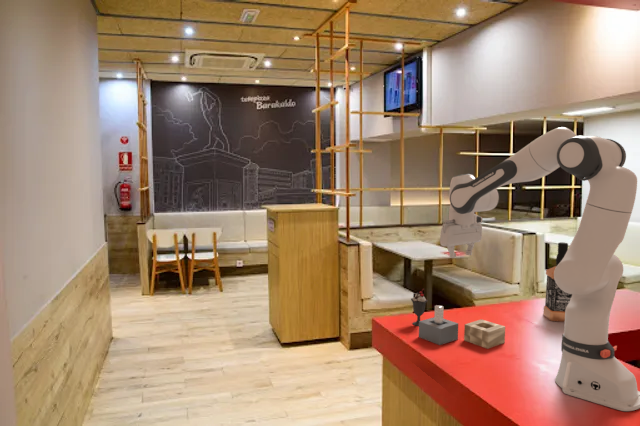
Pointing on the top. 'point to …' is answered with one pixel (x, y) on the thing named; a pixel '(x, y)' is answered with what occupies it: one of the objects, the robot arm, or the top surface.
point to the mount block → (484, 333)
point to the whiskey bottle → (556, 291)
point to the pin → (438, 315)
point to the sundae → (418, 305)
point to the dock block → (438, 331)
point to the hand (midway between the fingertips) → (460, 256)
